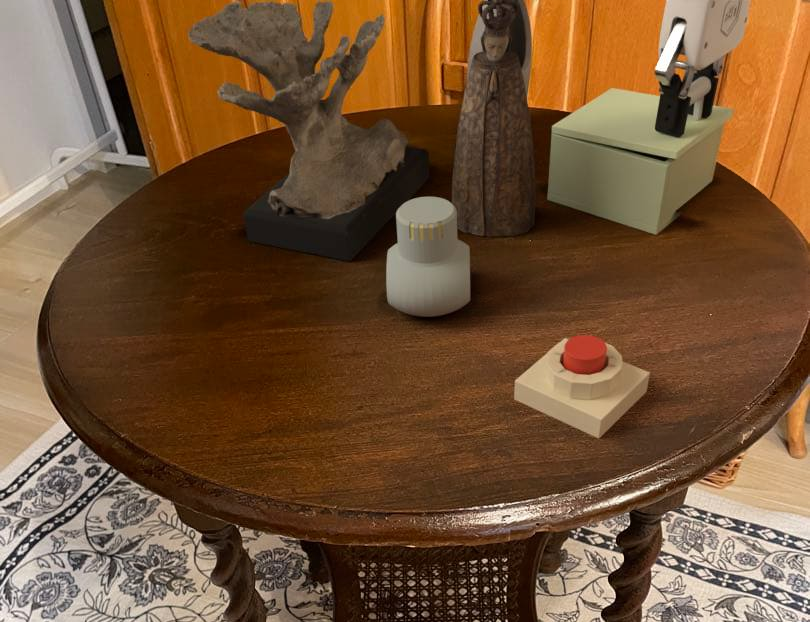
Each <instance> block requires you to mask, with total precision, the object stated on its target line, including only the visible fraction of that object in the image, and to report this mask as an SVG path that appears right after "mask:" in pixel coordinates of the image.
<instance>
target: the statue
mask: <svg viewBox="0 0 810 622" xmlns="http://www.w3.org/2000/svg"><path fill="white" fill-rule="evenodd" d="M508 4H511V5H514V9H513V7H511V6H510V5H508ZM483 5H488V6H487V7H486V8H485V9H484V10H482V6H483ZM517 7H518V4H517V2H516V1H514V0H488V1H486V0H481V2H479V3H478V5H477V11H478V12H477V13H478V15H479V14H480V16H481V17H482V20H483V22H484V24H485V30H484V32H483V34H482V37H481V44H482V49H483V52H480V53H477V54H475V55H474V57H473V59H472V64H471V68H470V71H469V76H468V80H467V84H466V83H465V88H464V93H463V99H462V102H461V108H460V113H459V119H458V125H457V132H456V141H455V150H454V162H453V168H452V180H451V182H452V183H451V203H452V204H453V205H454V206H455V208H456V210H457V230H459V231H461V232H462V233H466V234H468V233H469V234H471V235H474V236H475V235H476V236H480V237H484V236H486V237H491V238H492V237H493V238H496V237H515V236H519V235H522V234H526V233H528V232H529V231H530V230H531V229H532V228H533V227H534V226H535V221H536V220H535V217H536V215H535V214H536V172H535V171H536V170H535V169H536V168H535V151H534V140H533V131H532V122H531V121H532V120H531V116H530V115H531V114H530V106H529V104H528V95H526V91H525V84H524V79H523V74H522V70H521V66H520V62H519V58H518V55H517V53H515V52H512V51H509V48H510V45H511V42H512V37H511V34H510V33H509V26H510V25H511V23H512V22H513V20H514V18H515V14H516V12H517V9H518V8H517ZM493 9H496V12H497V17H495V16H494V12H493ZM507 10H508V11H509V12H510V14H511V15H510V17H509V18H508V19H505V16H506V11H507ZM488 13H489V15H488V16H489V19H487V14H488Z"/></svg>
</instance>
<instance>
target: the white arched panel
mask: <svg viewBox="0 0 810 622" xmlns="http://www.w3.org/2000/svg"><path fill="white" fill-rule="evenodd" d="M485 1H488V0H485ZM514 1H516V2H517V4H518V7H517V8H518V9H517V12H516V14H515V18H514V20H513V22H512V23H511V25H510V26H509V33H510V34H511V37H512V42H511V45H510V48H509V51H512V52H515V53H517V55H518V58H519V62H520V66H521V70H522V74H523V79H524V84H525V91H526V95H527V96H528V95H529V88H530V81H531V79H530V78H531V71H532V58H533V57H532V56H533V37H532V35H533V34H532V28H531V21H530V20H531V19H530V15H529V12H528V9H527V5H526V1H525V0H514ZM508 5H510V6H511V7H513V9H514V5H511V4H508ZM487 6H488V5H483V6H482V10H484V9H485V8H486V7H487ZM493 12H494V16H495V17H497V12H496V9H493ZM488 15H489V13H488V14H487V19H489V16H488ZM510 15H511V14H510V12H509V11H508V10H507V11H506V16H505V19H508V18H509V17H510ZM484 30H485V24H484V22H483V20H482V17H481V16H480V14H479V13H478V16H477V19H476V22H475V25H474V29H473V33H472V37H471V40H470V41H471V42H470V46H469V52H468V60H467V69H466V81H465V82H466V83H465V85H466V84H467V80H468V76H469V71H470V68H471V64H472V59H473V57H474V55H475V54H477V53H480V52H483V49H482V44H481V37H482V34H483V32H484Z"/></svg>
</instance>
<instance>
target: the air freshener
mask: <svg viewBox="0 0 810 622" xmlns="http://www.w3.org/2000/svg"><path fill="white" fill-rule="evenodd" d="M395 220H396V234H397V235H396V236H397V243H395V244H394V245H392V246H391V247H390V248H389V249H388V250H387V253H386V268H385V269H386V273H385V274H386V276H385V277H386V279H385V280H386V282H385V283H386V285H385V286H386V299H387V303H388V305H389V306H391V307H392V308H393V309H395V310H397V311H399V312H402V313H404V314H407V315H411V316H416V317H423V318H427V317H428V318H429V317H431V318H432V317H439V316H444V315H448V314H451V313H453V312H456V311H458V310H460V309H462V308H463V307H464V306H466V305H467V304H468V303H470V301H471V255H470V253H471V252H470V250H471V249H470V245H468V244H467V243H465V242H464V241H462V240H460V239H459V238H458V228H457V210H456V208H455V206H454V205H453V204H452V202H451V201H449V200H447V199H446V198H444V197H443V198H442V197H437V196H420V197H415V198H412V199H409V200H408V201H407V202H405V203H404V204H403V205H402V206H401V207H400V208H399V209H398V210H397V212H396V214H395Z"/></svg>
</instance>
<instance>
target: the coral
mask: <svg viewBox="0 0 810 622" xmlns="http://www.w3.org/2000/svg"><path fill="white" fill-rule="evenodd" d="M314 6H315V7H314V8H313V12H312V19H313V24H312V29H313V30H312V34H311V35H310V37H311V39H309V41H308V38H307V36H305V33H304V30H303V27H302V26H303V25H302V20H303V18H302V16H301V14H300V12H298V10H297V7H298V6H297V5H296V4H294V3H290V2H283V3H281V2H276V1H273V0H272V1H271V0H269V1H258V2H257V1H255V2H252V3H250V4H249V5H248V7H247V8H246V7H244V8H243V2H242V1H241V0H238V1H233V2H232V1H231V2H230V3H228V4H226V5H225V6H224V7H223V8H222V9H221V10H220V11H219V12H216V13H215V14H214V15H211V16H206V17H203V19H202V20H201V19H200V20H198V21H197V22H194V23H193V26H191V27H189V31H188V40H189V41H190V43H192V44H194V45H197V46H198V47H200V48H202V49H204V51H205V50H207V51H208V52H212V53H215V54H217V55H220V56H225V57H232V58H235V59H238V60H239V61H241V62H243V63H245V64H246V65H247V66H249V67H250V68H252V69H253V70H255V72H257V73H258V74H260V75H262V76H263V77H264V78H265V79H266V80H267V82H268V83H269V84H270V86H271V88H272V89H273V91H274V94H273V97H271V98H270V99H269V98H266V97H265V96H263V95H262V94H260V93H258V92H256V91H255V90H253V91H251V90H246V89H243V87H241V86H240V84H237V83H231V82H228V81H226V82H223V83H222V85H221V86H220V87H219V89H218V90H216V92H217V95H218V98H219V99H220V100H222V101H224V102H226V103H230V104H233V105H235V106H237V107H239V108H242V109H244V110H247V111H251V112H255V113H257V114H259V115H262V116H263V115H264V116H266V117H267V118H269V117H270V118H272V119H274V120H276V121H278V122H280V123H282V124H283V125H284V126H285V129H286V131H287V133H288V134H289V136H290V139H291V141H292V146H293V148H294V154H293V155H292V156H291V159H290V165H289V173H288V174H286V175H285V176H284V177H283V178H282V179H280V180H279V181H278V182H277V183H276V184H274V186H272V187H271V188H270V189H269V190H268V191H267V192H266V193H264V194H263V195H262V196H261V197H259V199H258V200H256V201H255V202H254V203H253V204H252V205H250V206H249V207H248V208H247V209H246V210H245V211H244V212H243V214H242V219H243V222H244V226H245V230H246V234H247V239H248V241H249V242H251V243H257V244H261V245H266V246H270V247H276V248H280V249H285V250H292V251H295V252H296V251H297V252H300V253H301V252H302V253H306V254H309V255H317V256H321V257H326V258H331V259H335V260H340V261H344V262H350V261H352V260H353V259H354V258H355V257H356V256H357V255H358V254H359V253H360V252H361V251H362V249H364V248H365V247H366V246H367V244H368V243H370V241H371V240H372V239H373V238H374V237H375V236H376V235H377V234H378V233H379V232H380V231H381V230H382V229H383V228H384V227H385V226H386V224H387V223H389V221H390V220H391V219H392V218H393V217H394V216H396V212H397V210H398V209H399V208H400V207H401V206H402V205H403V204H404V203H405V202H407V201H409V200H411V198H412V197H413V196H414V195H416V193H417V192H418V191H419V190H420V188H421V187H422V186H423V185H425V183H426V182H427V181H428V180H429V178H430V152H429V150H427V149H425V148H423V147H418V146H410V145H409V144H410V141H409V138H408V137H407V136H406V135H405V134H404V133H403V132H402V131H400V130H399V129H398V128H397V127H396V125H395V123H393V122H392V120H391V119H389V118H383V119H381V120H379V121H377V122H376V123H375V125H373V126H371V127H370V128H369V129H365V128H363V127H360V126H358V125H355V124H353V123H351V122H348V120H347V119H346V117H344V116H343V115H342V109H343V104H344V100H345V98H346V96H347V93H348V92H349V91H350V89H351V87H352V86H353V84H354V83H355V81H356V80H357V79H358V78H359V76H360V75H361V73H362V72H363V71H364V69H365V67H366V64H367V61H368V54H369V52H370V51H371V50H372V49H373V47H374V46H375V45H376V42H377V40H378V37H380V35H381V33H382V30H383V29H384V26H385V22H386V18H385V15H384V14H382V13H381V14H380V15H379V16H376V17H375V19H374V21H373V20H366V21H364V22H363V23H362V24H361V25H360V26H359V29H358V31H357V35H356V36H355V39H354V42H353V44H352V45H351V37H350V36H346V35H343V36H341V37H340V40H339V43H338V45H337V48H335V50H334V54H333V55H332V56H328V57H325V59H324V58H322V56H323V53H324V51H325V47H326V42H325V35H326V34H325V33H326V32H327V29H328V28H329V25H330V22H331V19H332V16H333V13H334V2H333V1H329V0H327V1H326V0H323V1H322V2H321V1H320V0H318V1H317V2H315V4H314ZM350 45H351V47H350ZM348 49H349V53H347V52H348ZM320 59H321V61H320ZM319 62H320V63H319ZM318 63H319V68H318V69H317V71H316V65H317V64H318ZM336 69H337V71H338V77H337V78H336V80H335V82H334V83H333V84H332V87H331V88H330V92H329V95H328V96H327V97H326V98H324V97H325V95H326V93H327V90H328V88H329V85H330V80H331V77H332V74H333V72H334V71H335V70H336ZM323 98H324V99H323Z"/></svg>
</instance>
